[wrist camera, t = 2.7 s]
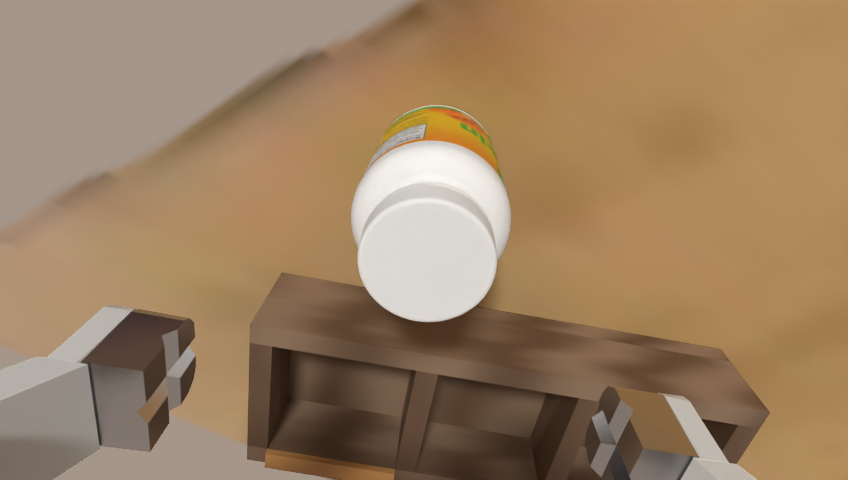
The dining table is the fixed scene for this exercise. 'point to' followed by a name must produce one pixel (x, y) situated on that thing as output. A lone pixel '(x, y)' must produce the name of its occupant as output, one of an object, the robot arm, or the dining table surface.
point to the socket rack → (457, 389)
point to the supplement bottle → (431, 215)
